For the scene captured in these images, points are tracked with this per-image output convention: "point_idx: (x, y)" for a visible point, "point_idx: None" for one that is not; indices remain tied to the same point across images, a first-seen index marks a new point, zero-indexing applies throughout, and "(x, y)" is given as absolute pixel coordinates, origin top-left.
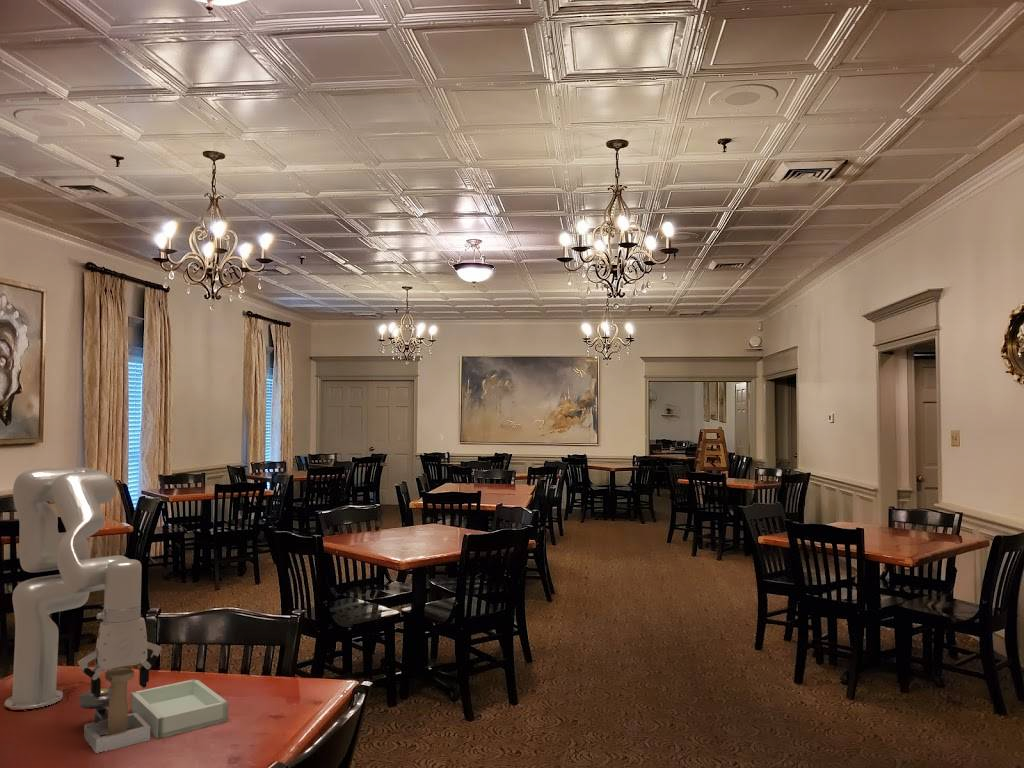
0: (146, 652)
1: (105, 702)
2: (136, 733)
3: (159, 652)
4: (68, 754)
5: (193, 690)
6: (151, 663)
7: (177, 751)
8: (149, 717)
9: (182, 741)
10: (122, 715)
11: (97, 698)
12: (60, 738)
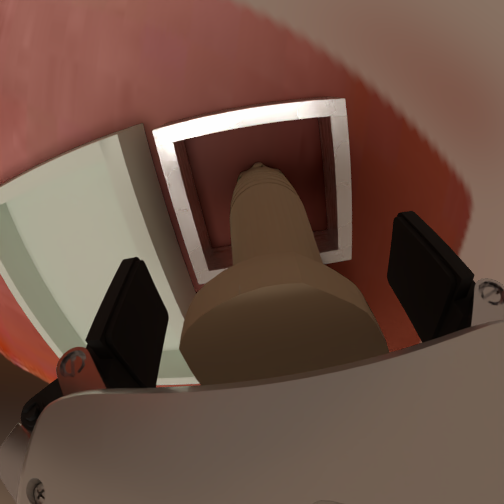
0: (22, 478)
1: None
2: (203, 116)
3: (8, 438)
4: (391, 142)
5: None
6: (58, 385)
7: (102, 11)
8: (156, 225)
9: (80, 79)
10: (252, 184)
11: None
12: (381, 261)
